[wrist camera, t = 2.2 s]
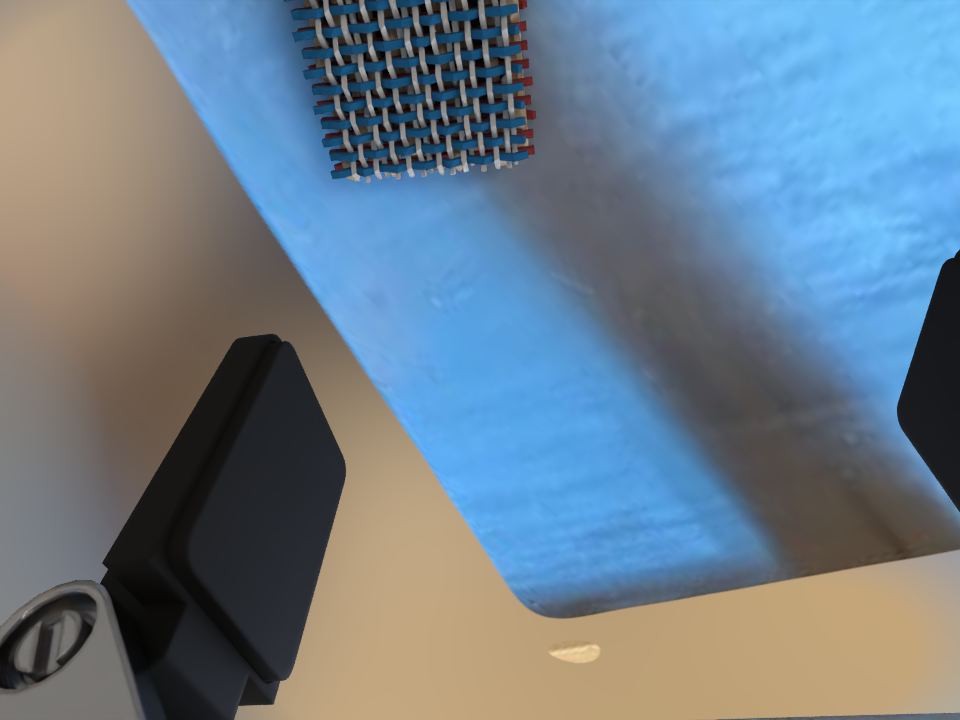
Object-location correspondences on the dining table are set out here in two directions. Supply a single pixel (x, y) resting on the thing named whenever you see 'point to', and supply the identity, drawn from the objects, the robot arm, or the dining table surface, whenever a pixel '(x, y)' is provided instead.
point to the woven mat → (419, 84)
